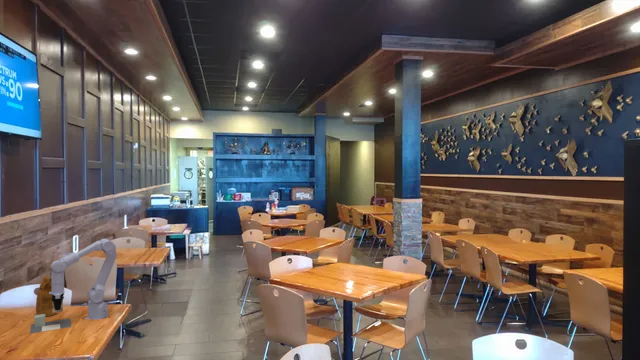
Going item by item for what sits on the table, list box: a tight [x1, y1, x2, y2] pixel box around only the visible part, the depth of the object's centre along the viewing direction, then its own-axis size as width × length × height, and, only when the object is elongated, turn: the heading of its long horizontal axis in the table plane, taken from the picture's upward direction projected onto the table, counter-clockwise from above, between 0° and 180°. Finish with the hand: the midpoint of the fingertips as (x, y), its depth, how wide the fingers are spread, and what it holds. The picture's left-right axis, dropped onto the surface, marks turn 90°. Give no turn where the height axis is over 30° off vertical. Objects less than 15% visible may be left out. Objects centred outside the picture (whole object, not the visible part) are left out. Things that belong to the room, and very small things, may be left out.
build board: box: [29, 318, 72, 335], centre depth 220 cm, size 18×15×1 cm
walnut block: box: [52, 299, 64, 313], centre depth 222 cm, size 5×5×5 cm
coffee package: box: [35, 275, 58, 318], centre depth 238 cm, size 10×12×22 cm
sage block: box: [34, 314, 46, 327], centre depth 221 cm, size 5×5×5 cm
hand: (57, 308), depth 222 cm, fingers closed on walnut block, 5 cm apart
